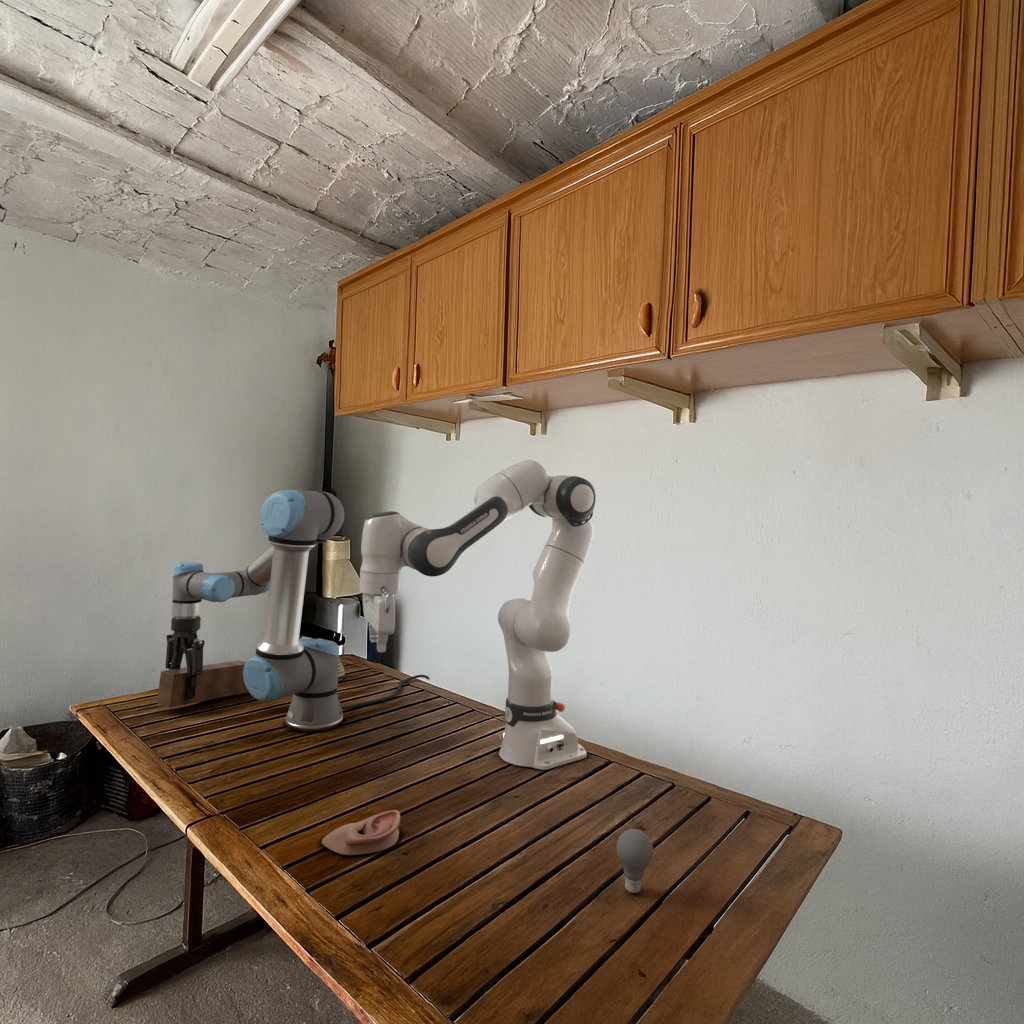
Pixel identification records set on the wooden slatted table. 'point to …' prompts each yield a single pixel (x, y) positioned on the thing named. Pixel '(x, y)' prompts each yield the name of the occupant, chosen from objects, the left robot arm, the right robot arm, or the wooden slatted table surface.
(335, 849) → the anatomical model
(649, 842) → the light bulb
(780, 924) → the wooden slatted table surface
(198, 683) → the bar
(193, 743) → the wooden slatted table surface
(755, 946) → the wooden slatted table surface
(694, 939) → the wooden slatted table surface
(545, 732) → the right robot arm
